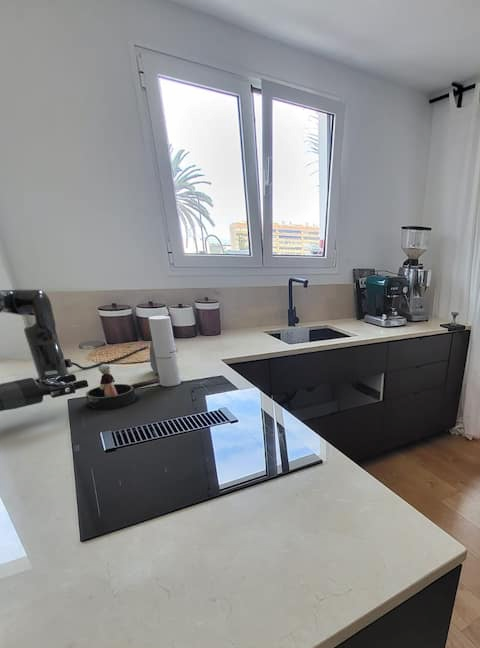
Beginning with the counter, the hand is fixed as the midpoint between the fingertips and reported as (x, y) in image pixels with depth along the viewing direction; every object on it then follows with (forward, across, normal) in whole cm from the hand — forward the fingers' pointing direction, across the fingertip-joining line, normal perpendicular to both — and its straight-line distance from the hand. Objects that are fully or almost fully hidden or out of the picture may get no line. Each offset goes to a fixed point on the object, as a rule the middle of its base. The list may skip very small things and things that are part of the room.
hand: (81, 380), depth 123 cm
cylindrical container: (+30, +3, +10) cm, 32 cm away
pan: (+7, 0, +10) cm, 12 cm away
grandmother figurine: (+7, 0, +9) cm, 12 cm away
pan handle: (+19, 0, +7) cm, 20 cm away
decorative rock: (+35, +16, +10) cm, 40 cm away
